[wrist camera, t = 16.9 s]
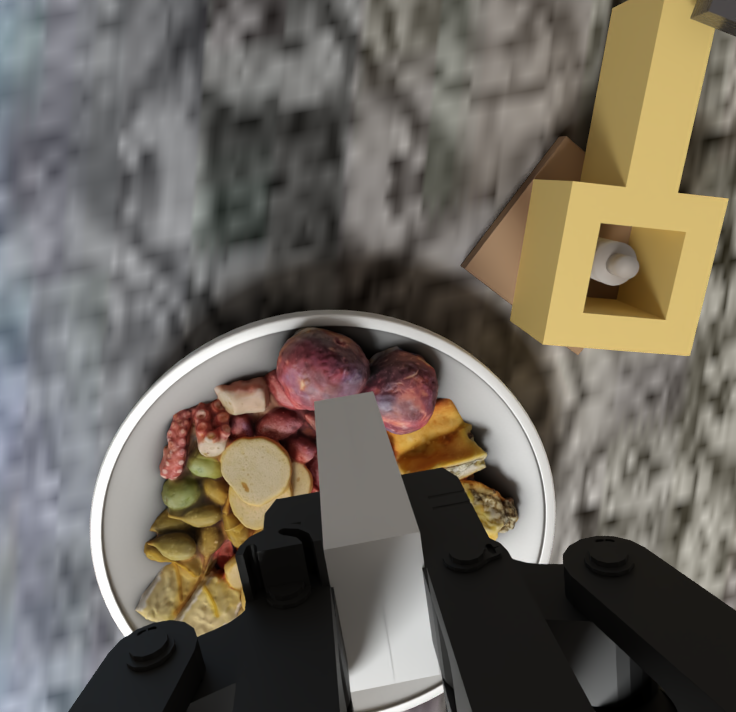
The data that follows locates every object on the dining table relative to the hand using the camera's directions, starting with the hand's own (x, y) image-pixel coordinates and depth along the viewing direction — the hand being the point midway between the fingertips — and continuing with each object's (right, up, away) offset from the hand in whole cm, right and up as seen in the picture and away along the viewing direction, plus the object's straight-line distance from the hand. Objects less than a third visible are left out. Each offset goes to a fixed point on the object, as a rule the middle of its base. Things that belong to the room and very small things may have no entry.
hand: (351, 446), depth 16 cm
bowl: (-3, -8, +30) cm, 32 cm away
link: (+15, +13, +24) cm, 31 cm away
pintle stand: (+13, +9, +26) cm, 31 cm away
